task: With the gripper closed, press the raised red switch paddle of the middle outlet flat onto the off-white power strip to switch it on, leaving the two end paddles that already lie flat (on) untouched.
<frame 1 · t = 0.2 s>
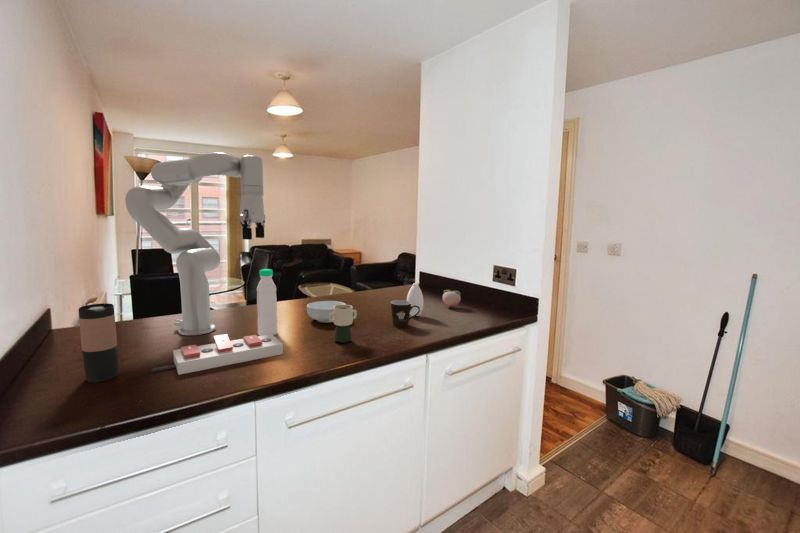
hand: (253, 238, 139), 36 cm above the worktop, tool pointing down, fingers open, 9 cm apart
rocker right: (252, 340, 124), point 4 cm above the worktop, hinge at 0.0°
cereal bowl: (326, 320, 165), on the worktop
sauce bottle: (414, 316, 174), on the worktop
pale pink rounded piece: (451, 308, 192), on the worktop
water bottle: (267, 334, 144), on the worktop
coffee mug: (403, 326, 159), on the worktop
character mug: (342, 341, 138), on the worktop
power strip: (230, 357, 121), on the worktop
travel mug: (102, 377, 105), on the worktop
rocker middle: (223, 342, 118), point 5 cm above the worktop, hinge at 15.0°
rocker left: (190, 350, 114), point 4 cm above the worktop, hinge at 0.0°
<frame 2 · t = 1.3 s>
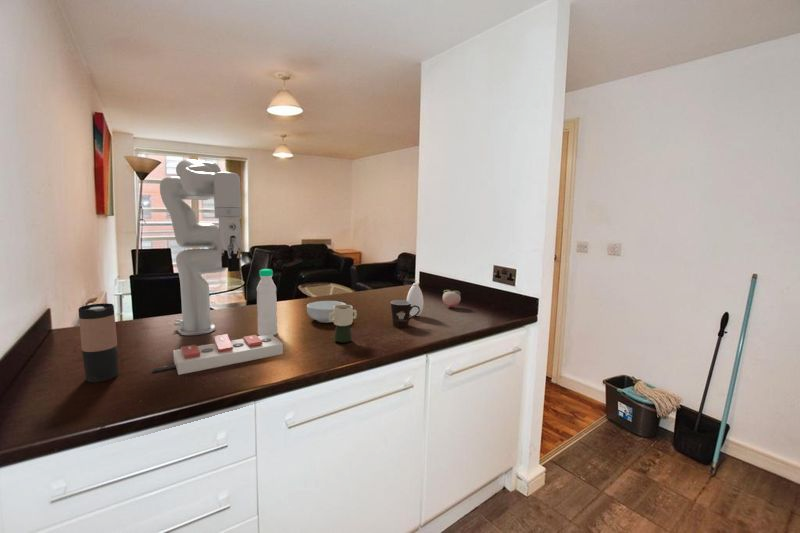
hand: (230, 269, 119), 28 cm above the worktop, tool pointing down, fingers open, 8 cm apart
nothing on the worktop moved.
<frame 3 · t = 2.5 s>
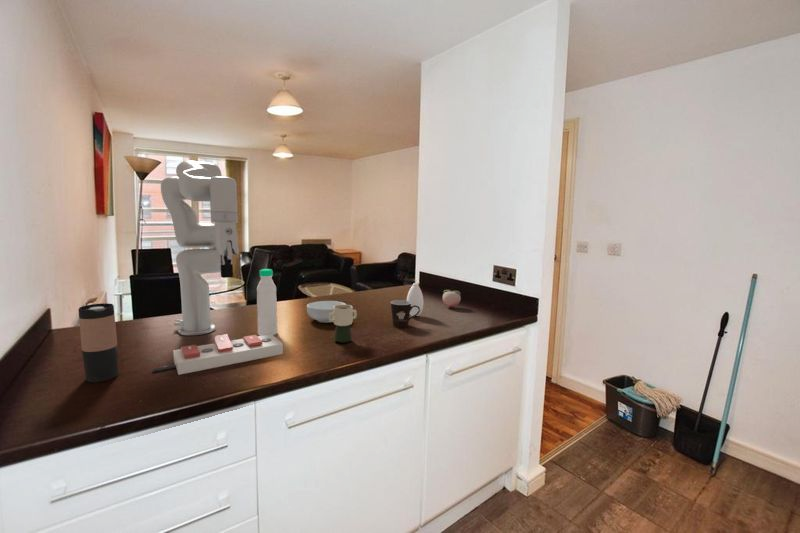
hand: (227, 276, 118), 26 cm above the worktop, tool pointing down, fingers closed
nothing on the worktop moved.
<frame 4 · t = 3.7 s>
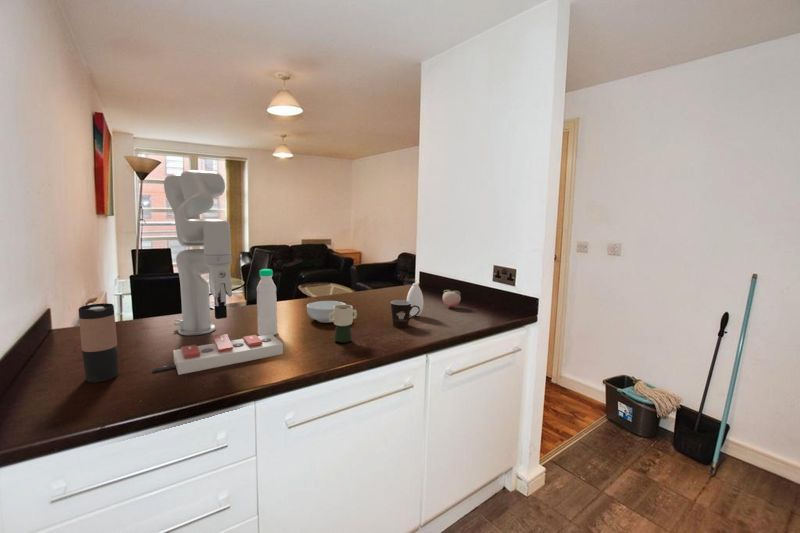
hand: (221, 317, 119), 13 cm above the worktop, tool pointing down, fingers closed
nothing on the worktop moved.
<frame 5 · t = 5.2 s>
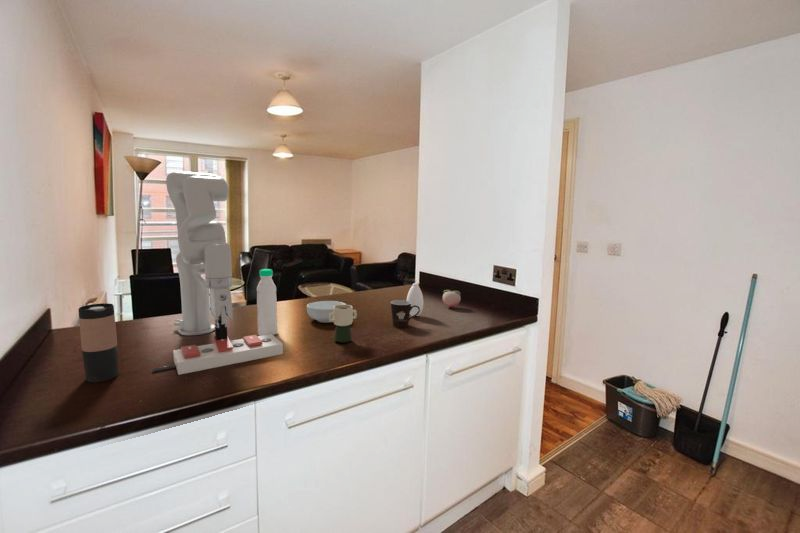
hand: (221, 338, 120), 6 cm above the worktop, tool pointing down, fingers closed
rocker middle: (222, 342, 118), point 5 cm above the worktop, hinge at 12.8°, touching gripper
everything else where it was.
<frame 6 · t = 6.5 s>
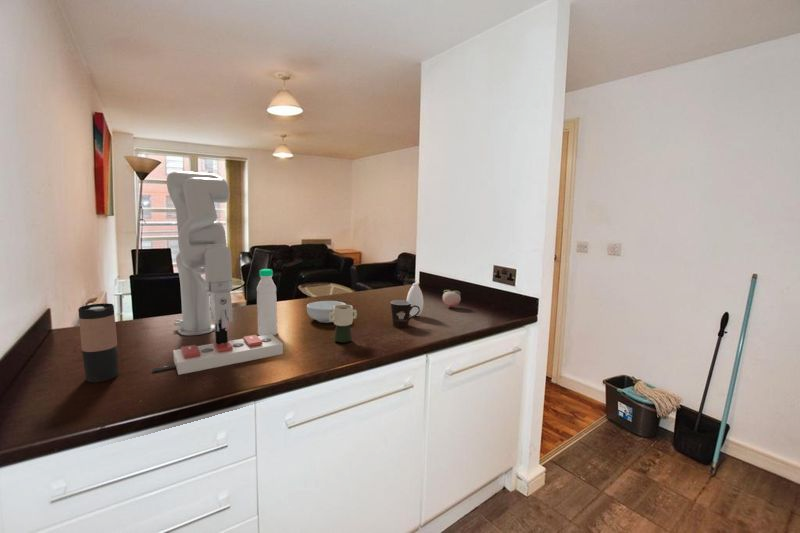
hand: (221, 342, 120), 5 cm above the worktop, tool pointing down, fingers closed
rocker middle: (222, 345, 119), point 4 cm above the worktop, hinge at -2.4°, touching power strip
everything else where it was.
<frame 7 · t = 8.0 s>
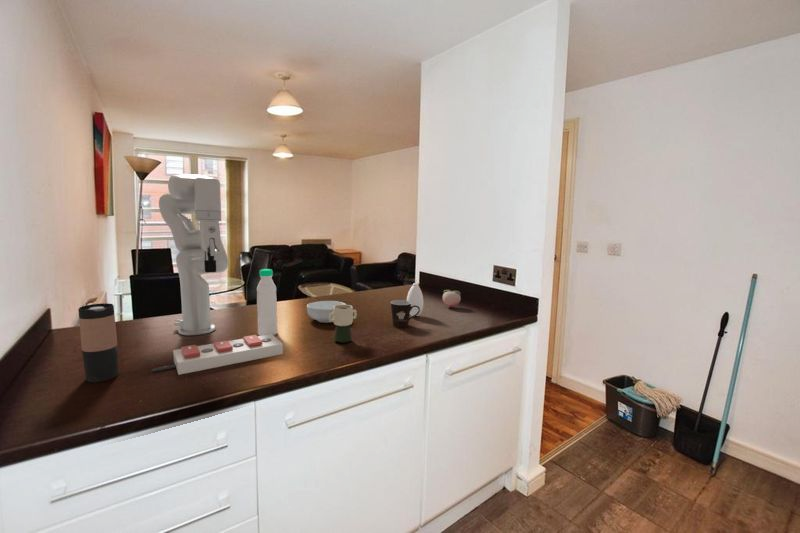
hand: (210, 271, 125), 26 cm above the worktop, tool pointing down, fingers closed
nothing on the worktop moved.
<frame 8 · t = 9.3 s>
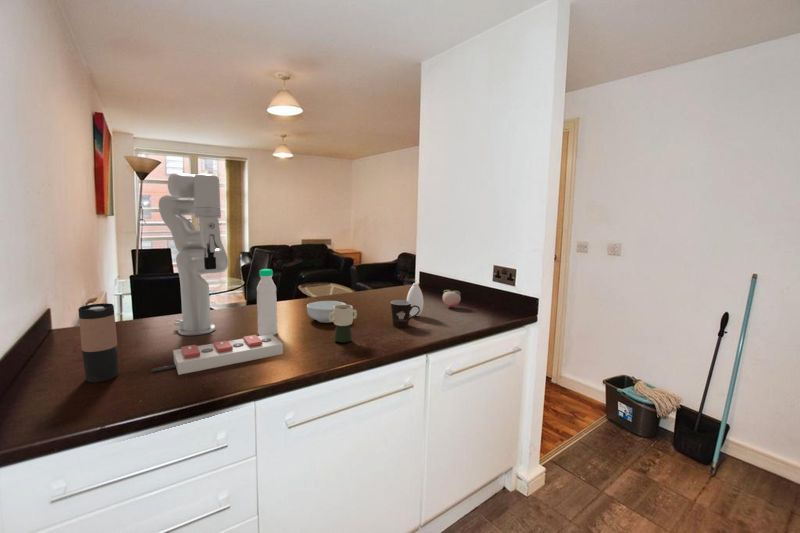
hand: (210, 268, 125), 27 cm above the worktop, tool pointing down, fingers closed
nothing on the worktop moved.
at the end: rocker middle at -2° (first picture: +15°); rocker left at +0° (first picture: +0°); rocker right at +0° (first picture: +0°) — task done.
